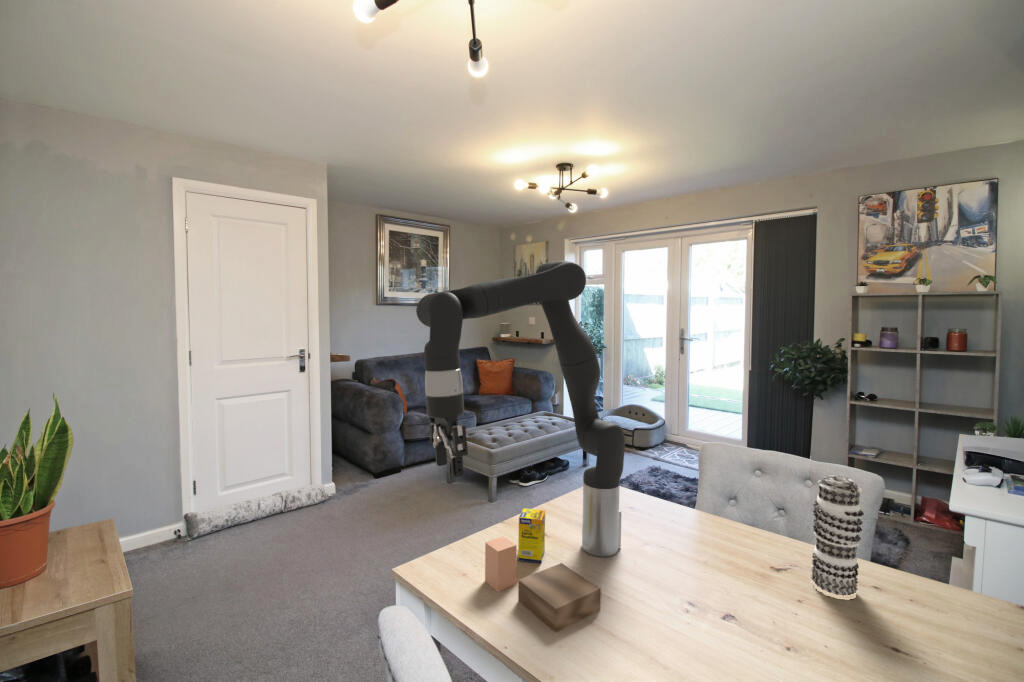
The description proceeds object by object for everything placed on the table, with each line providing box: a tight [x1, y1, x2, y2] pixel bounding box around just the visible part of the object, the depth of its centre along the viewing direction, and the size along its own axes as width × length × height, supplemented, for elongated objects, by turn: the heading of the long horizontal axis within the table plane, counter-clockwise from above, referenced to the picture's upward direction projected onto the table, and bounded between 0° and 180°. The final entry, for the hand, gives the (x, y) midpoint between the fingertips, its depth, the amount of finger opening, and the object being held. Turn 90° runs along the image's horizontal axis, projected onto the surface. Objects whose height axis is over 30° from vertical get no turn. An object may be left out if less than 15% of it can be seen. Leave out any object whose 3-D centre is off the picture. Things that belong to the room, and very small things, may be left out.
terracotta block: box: [484, 535, 517, 592], centre depth 108 cm, size 5×5×9 cm
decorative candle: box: [810, 475, 865, 596], centre depth 106 cm, size 9×9×25 cm
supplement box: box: [517, 507, 546, 564], centre depth 119 cm, size 6×6×11 cm
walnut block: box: [517, 562, 602, 633], centre depth 99 cm, size 12×12×5 cm
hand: (449, 470), depth 98 cm, fingers open, 8 cm apart
